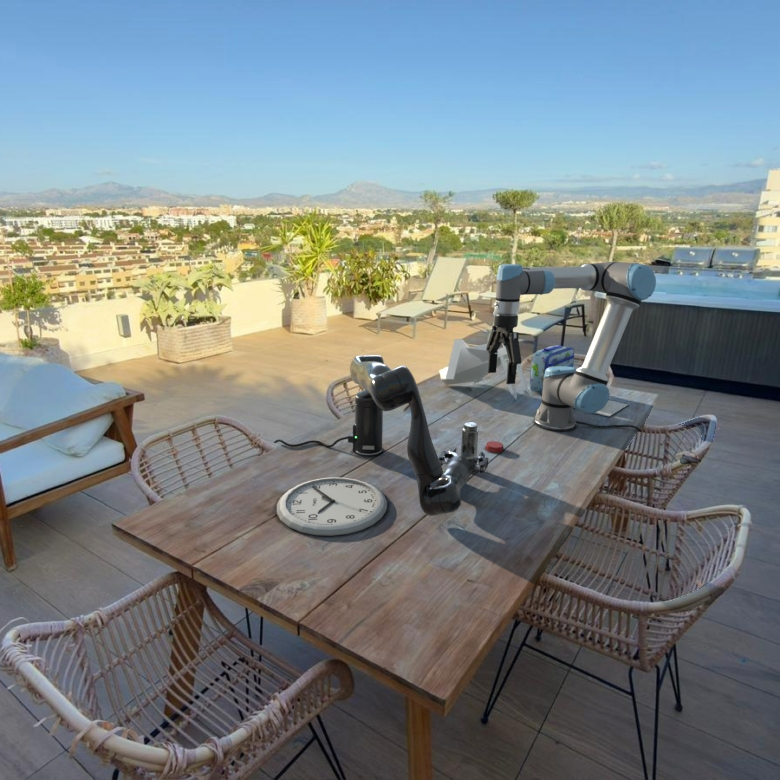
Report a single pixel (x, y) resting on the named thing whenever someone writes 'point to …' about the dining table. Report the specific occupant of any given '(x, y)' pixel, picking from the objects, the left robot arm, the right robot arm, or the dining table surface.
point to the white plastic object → (476, 365)
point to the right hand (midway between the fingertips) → (501, 378)
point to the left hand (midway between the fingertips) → (468, 452)
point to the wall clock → (331, 506)
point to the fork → (407, 407)
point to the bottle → (469, 440)
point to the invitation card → (611, 408)
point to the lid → (494, 446)
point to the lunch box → (548, 363)
